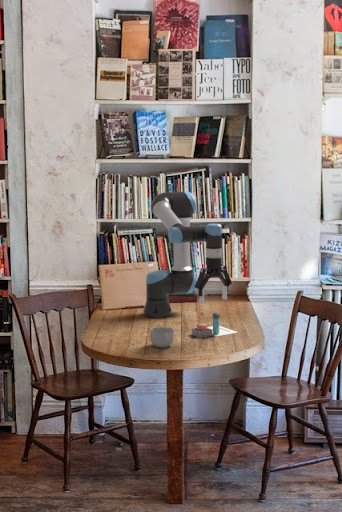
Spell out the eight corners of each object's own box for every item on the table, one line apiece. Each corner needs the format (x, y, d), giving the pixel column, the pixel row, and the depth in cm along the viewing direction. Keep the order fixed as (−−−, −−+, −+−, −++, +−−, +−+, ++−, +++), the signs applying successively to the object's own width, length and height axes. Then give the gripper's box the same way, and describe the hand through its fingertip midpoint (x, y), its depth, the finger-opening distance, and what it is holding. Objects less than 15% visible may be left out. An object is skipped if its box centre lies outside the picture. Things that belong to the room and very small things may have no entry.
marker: (210, 333, 355) (211, 313, 353) (216, 332, 357) (216, 312, 355) (215, 335, 352) (215, 314, 350) (220, 334, 354) (221, 313, 352)
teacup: (149, 343, 340) (149, 326, 339) (173, 342, 341) (173, 325, 340) (151, 351, 327) (151, 334, 325) (175, 351, 327) (175, 333, 326)
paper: (196, 329, 363) (196, 328, 363) (218, 325, 370) (218, 325, 370) (216, 336, 350) (216, 336, 350) (237, 332, 357) (237, 332, 357)
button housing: (191, 334, 354) (191, 328, 354) (203, 332, 358) (203, 326, 357) (200, 337, 348) (200, 331, 348) (212, 335, 352) (212, 329, 351)
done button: (194, 331, 353) (194, 324, 353) (203, 329, 356) (203, 322, 356) (200, 333, 349) (200, 326, 349) (209, 332, 352) (209, 325, 351)
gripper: (196, 260, 338) (196, 305, 341) (239, 255, 351) (238, 299, 355) (187, 258, 344) (187, 302, 347) (229, 253, 358) (229, 296, 361)
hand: (213, 301), depth 351 cm, fingers open, 13 cm apart
